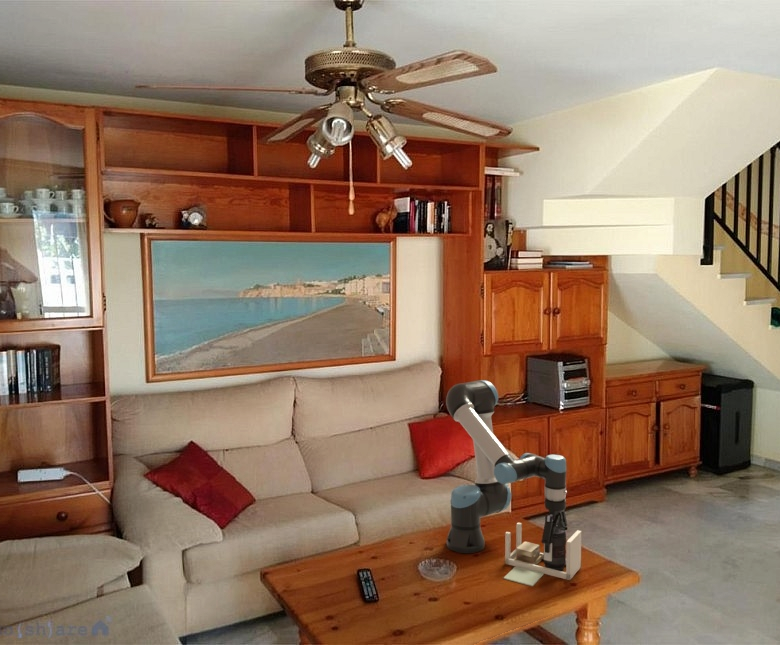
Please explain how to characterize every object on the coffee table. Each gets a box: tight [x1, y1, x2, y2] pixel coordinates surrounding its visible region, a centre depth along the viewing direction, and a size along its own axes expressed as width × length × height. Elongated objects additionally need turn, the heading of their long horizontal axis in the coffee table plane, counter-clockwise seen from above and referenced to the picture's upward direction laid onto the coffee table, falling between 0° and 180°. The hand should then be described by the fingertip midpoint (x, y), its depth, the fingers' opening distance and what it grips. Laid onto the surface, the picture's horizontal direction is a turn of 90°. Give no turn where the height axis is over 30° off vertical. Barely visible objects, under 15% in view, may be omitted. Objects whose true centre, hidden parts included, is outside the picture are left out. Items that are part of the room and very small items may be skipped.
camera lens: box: [543, 526, 567, 572], centre depth 258 cm, size 8×8×15 cm
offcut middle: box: [516, 549, 541, 563], centre depth 264 cm, size 7×7×2 cm
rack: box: [504, 522, 582, 581], centre depth 260 cm, size 25×12×14 cm, turn 57°
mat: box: [503, 566, 545, 587], centre depth 252 cm, size 11×11×1 cm
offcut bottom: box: [514, 556, 542, 565], centre depth 264 cm, size 8×8×2 cm
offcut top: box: [515, 541, 541, 557], centre depth 264 cm, size 6×8×2 cm
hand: (554, 553), depth 258 cm, fingers open, 13 cm apart
